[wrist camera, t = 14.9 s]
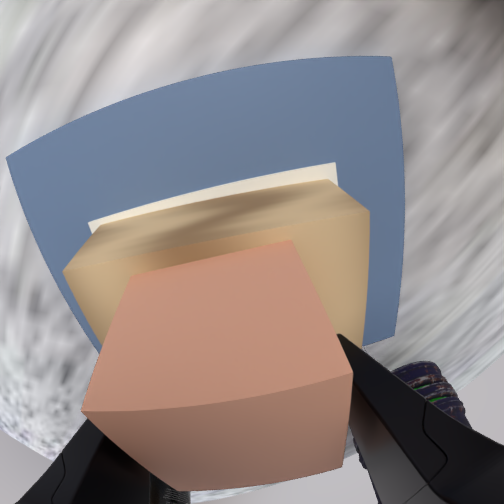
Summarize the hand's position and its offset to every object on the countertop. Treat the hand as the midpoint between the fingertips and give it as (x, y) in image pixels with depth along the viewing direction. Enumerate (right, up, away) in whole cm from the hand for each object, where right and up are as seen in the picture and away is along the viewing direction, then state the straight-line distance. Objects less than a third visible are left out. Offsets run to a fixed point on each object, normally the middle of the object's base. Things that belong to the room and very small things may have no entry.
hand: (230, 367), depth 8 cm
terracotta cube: (0, +1, +2) cm, 2 cm away
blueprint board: (-1, +3, +6) cm, 7 cm away
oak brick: (-1, +3, +5) cm, 6 cm away
